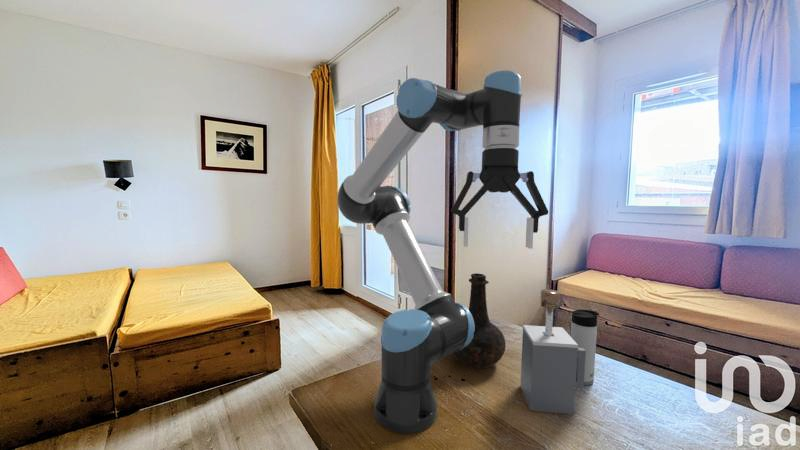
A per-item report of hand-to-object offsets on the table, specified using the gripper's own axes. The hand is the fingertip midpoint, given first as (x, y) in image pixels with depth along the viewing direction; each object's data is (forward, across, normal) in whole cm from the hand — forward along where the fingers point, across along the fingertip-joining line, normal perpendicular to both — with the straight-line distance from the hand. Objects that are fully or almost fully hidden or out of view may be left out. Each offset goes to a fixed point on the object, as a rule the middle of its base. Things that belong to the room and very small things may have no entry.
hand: (496, 246), depth 70 cm
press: (+41, +17, +10) cm, 45 cm away
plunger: (+36, +15, +10) cm, 40 cm away
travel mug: (+41, +28, +21) cm, 54 cm away
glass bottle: (+41, -1, +27) cm, 49 cm away
